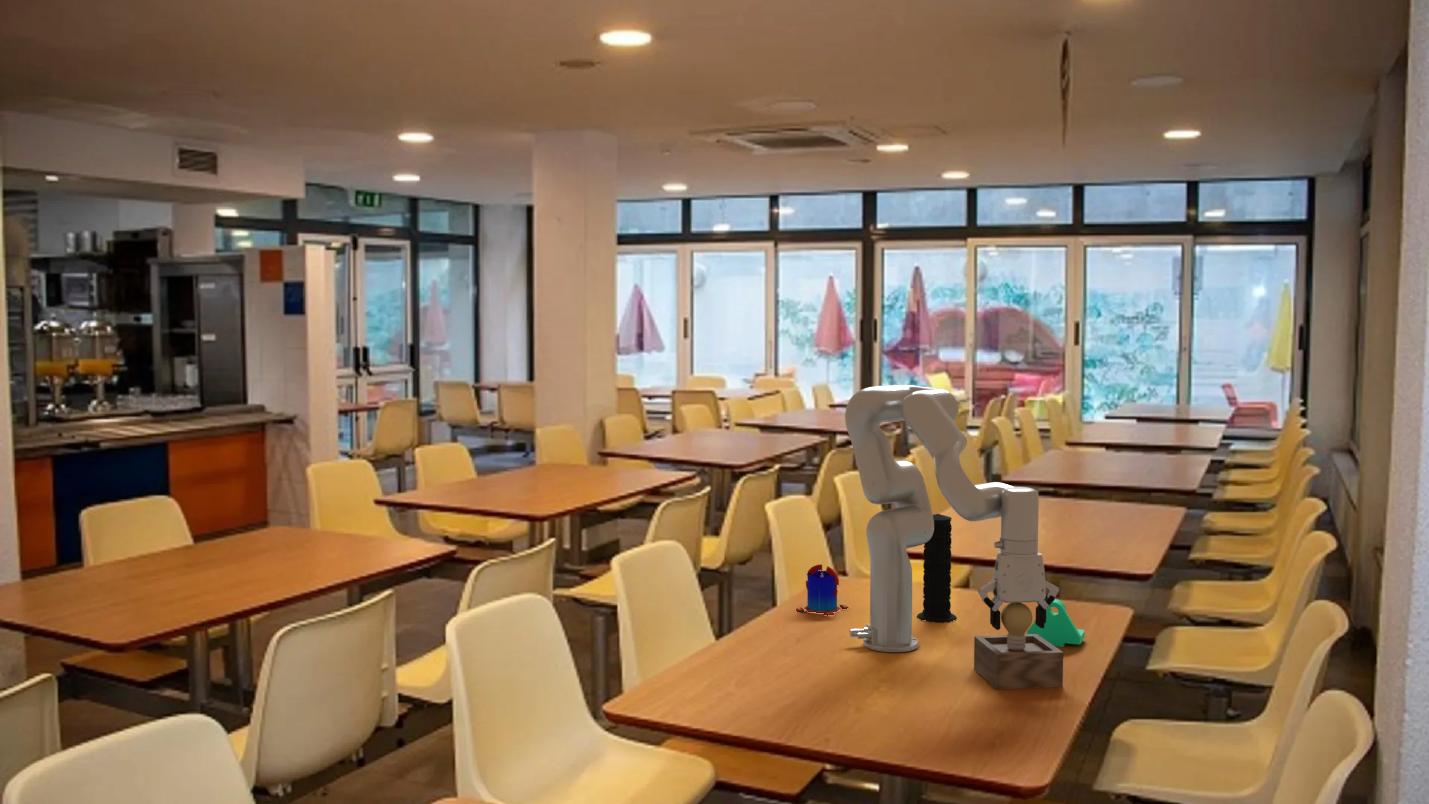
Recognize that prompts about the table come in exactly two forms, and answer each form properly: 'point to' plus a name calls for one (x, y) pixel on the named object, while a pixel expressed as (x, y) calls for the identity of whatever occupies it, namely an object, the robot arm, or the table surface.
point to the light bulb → (1016, 624)
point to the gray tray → (1018, 662)
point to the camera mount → (1058, 627)
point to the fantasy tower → (822, 591)
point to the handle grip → (938, 573)
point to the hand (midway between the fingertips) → (1018, 627)
